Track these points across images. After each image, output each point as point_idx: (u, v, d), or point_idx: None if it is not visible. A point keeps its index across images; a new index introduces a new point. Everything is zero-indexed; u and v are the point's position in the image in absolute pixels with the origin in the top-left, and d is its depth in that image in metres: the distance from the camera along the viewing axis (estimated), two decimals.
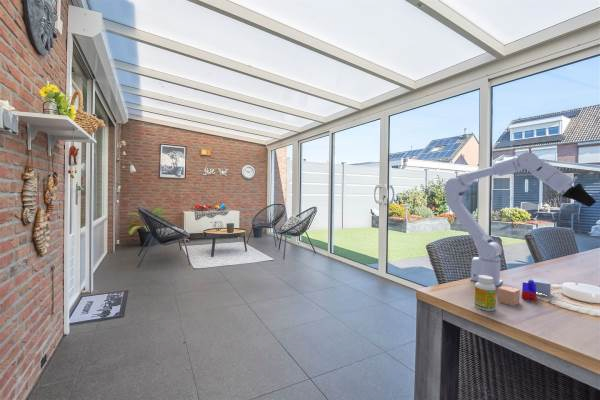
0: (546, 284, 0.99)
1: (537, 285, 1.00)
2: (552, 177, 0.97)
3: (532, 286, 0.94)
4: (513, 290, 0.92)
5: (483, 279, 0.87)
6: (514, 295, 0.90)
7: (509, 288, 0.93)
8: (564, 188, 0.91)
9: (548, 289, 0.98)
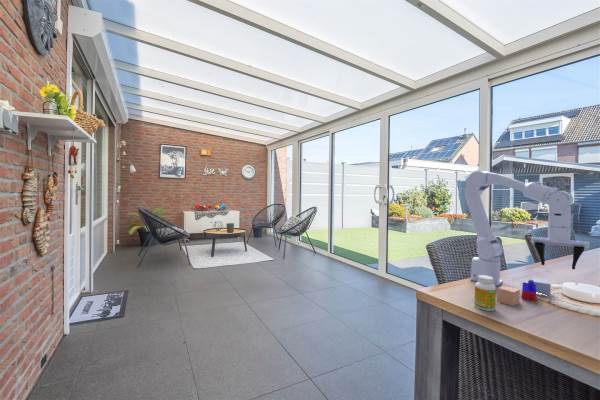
0: (546, 284, 0.99)
1: (537, 285, 1.00)
2: (548, 227, 0.98)
3: (532, 286, 0.94)
4: (513, 290, 0.92)
5: (483, 279, 0.87)
6: (514, 295, 0.90)
7: (509, 288, 0.93)
8: (531, 239, 1.02)
9: (548, 289, 0.98)
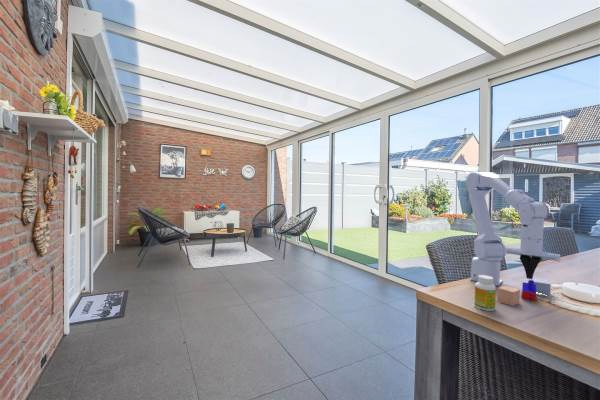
0: (546, 284, 0.99)
1: (537, 285, 1.00)
2: (521, 238, 0.98)
3: (532, 286, 0.94)
4: (513, 290, 0.92)
5: (483, 279, 0.87)
6: (514, 295, 0.90)
7: (509, 288, 0.93)
8: None
9: (548, 289, 0.98)
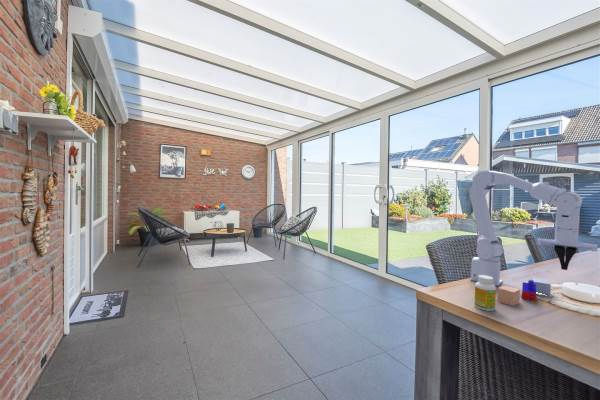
0: (546, 284, 0.99)
1: (537, 285, 1.00)
2: (555, 228, 0.96)
3: (532, 286, 0.94)
4: (513, 290, 0.92)
5: (483, 279, 0.87)
6: (514, 295, 0.90)
7: (509, 288, 0.93)
8: None
9: (548, 289, 0.98)
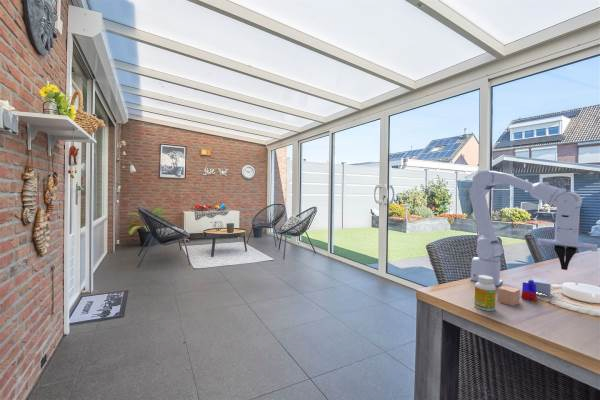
0: (546, 284, 0.99)
1: (537, 285, 1.00)
2: (555, 228, 0.96)
3: (532, 286, 0.94)
4: (513, 290, 0.92)
5: (483, 279, 0.87)
6: (514, 295, 0.90)
7: (509, 288, 0.93)
8: None
9: (548, 289, 0.98)
